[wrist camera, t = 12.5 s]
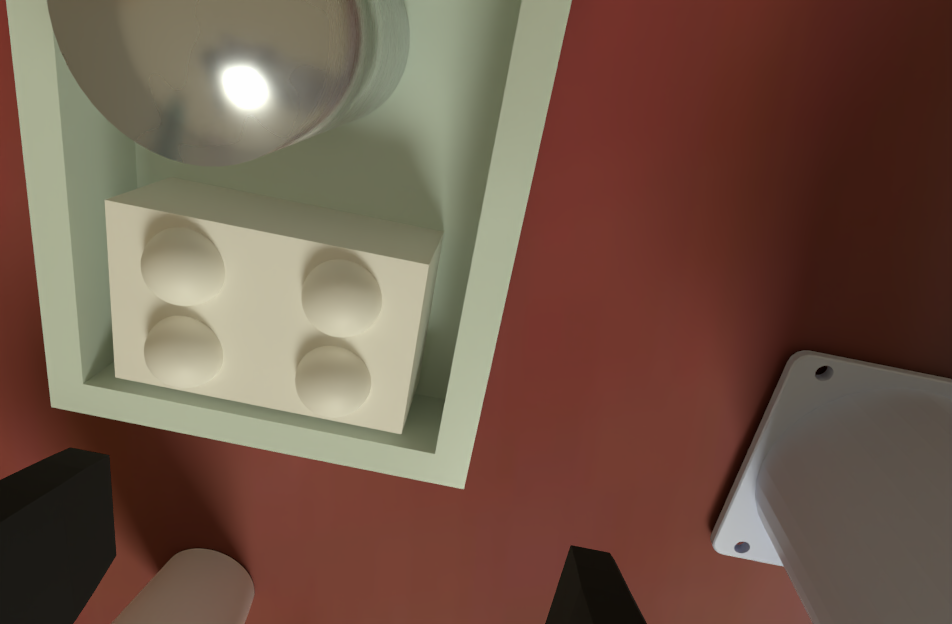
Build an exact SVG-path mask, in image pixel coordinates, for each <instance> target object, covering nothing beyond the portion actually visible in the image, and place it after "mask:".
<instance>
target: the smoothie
mask: <svg viewBox="0 0 952 624" xmlns="http://www.w3.org/2000/svg"><path fill="white" fill-rule="evenodd" d="M253 597H254V585H253V582H252V579H251V577H250V575H249V574H248V572H247V571H246V570H245V569H244V568H243V567H242V566H241V565H240V564H239V563H238V562H237V561H235V560H234V559H232V558H231V557H229V556H227V555H225V554H223V553H220V552H217V551H214V550H210V549H201V548H195V549H188V550H184V551H181V552H179V553H177V554H175V555H174V556H173V557H172V558H171V559H170V560H169V561H168V562H167V563H166V564H165V565H164V566H163V567H162V569H161V570H160V571H159V572H158V573H157V574H156V575H155V576H154V577H153V578H152V579H151V580H150V582H149V583H148V584H147V585H146V586H145V587H144V588H143V589H142V590H141V591H140V592H139V594H138V595H137V596H136V597H135V598H134V599H133V600H132V601H131V602H130V603H129V604H128V606H127V607H126V608H125V609H124V610H123V611H122V612H121V613H120V614H119V615H118V616H117V618H116V619H115V620H114V621H113V622H112V623H111V624H245V621H246V618H247V615H248V612H249V609H250V606H251V603H252V601H253Z"/></svg>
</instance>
